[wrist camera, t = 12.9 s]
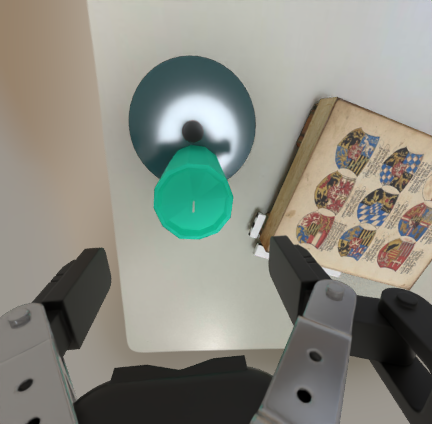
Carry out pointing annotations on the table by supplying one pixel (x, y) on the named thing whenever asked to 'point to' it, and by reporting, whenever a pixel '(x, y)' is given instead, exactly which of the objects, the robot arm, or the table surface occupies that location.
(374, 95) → the table surface
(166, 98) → the pot lid
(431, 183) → the book
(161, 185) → the candle
